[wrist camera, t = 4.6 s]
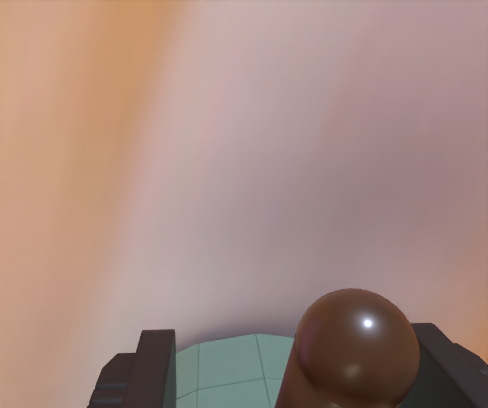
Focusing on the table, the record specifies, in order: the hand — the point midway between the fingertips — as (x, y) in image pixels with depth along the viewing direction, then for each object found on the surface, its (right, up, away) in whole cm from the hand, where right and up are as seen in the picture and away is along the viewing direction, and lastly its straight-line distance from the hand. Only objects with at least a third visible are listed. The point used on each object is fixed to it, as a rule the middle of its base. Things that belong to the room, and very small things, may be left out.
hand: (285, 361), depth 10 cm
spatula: (0, -5, +2) cm, 6 cm away
